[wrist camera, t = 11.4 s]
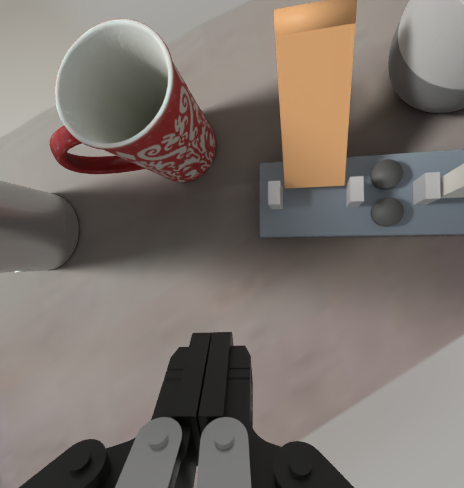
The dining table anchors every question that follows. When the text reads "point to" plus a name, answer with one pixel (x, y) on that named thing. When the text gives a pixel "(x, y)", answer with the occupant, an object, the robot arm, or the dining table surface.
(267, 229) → the paddle holder
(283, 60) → the orange paddle
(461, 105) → the smart speaker
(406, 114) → the dining table surface
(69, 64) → the mug
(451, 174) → the cream paddle
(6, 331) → the dining table surface
